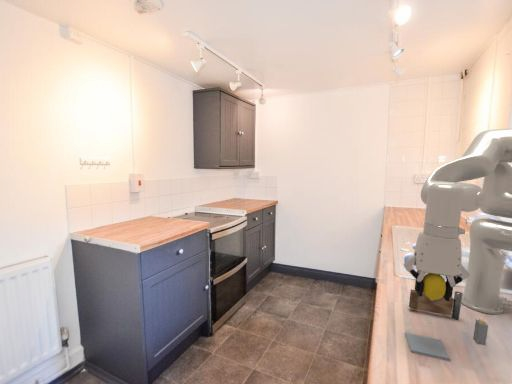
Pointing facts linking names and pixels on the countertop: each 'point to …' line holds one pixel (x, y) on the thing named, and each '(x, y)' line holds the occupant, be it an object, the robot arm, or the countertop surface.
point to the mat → (427, 346)
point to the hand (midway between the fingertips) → (432, 295)
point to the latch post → (480, 332)
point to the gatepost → (456, 305)
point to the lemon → (434, 286)
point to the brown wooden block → (430, 304)
